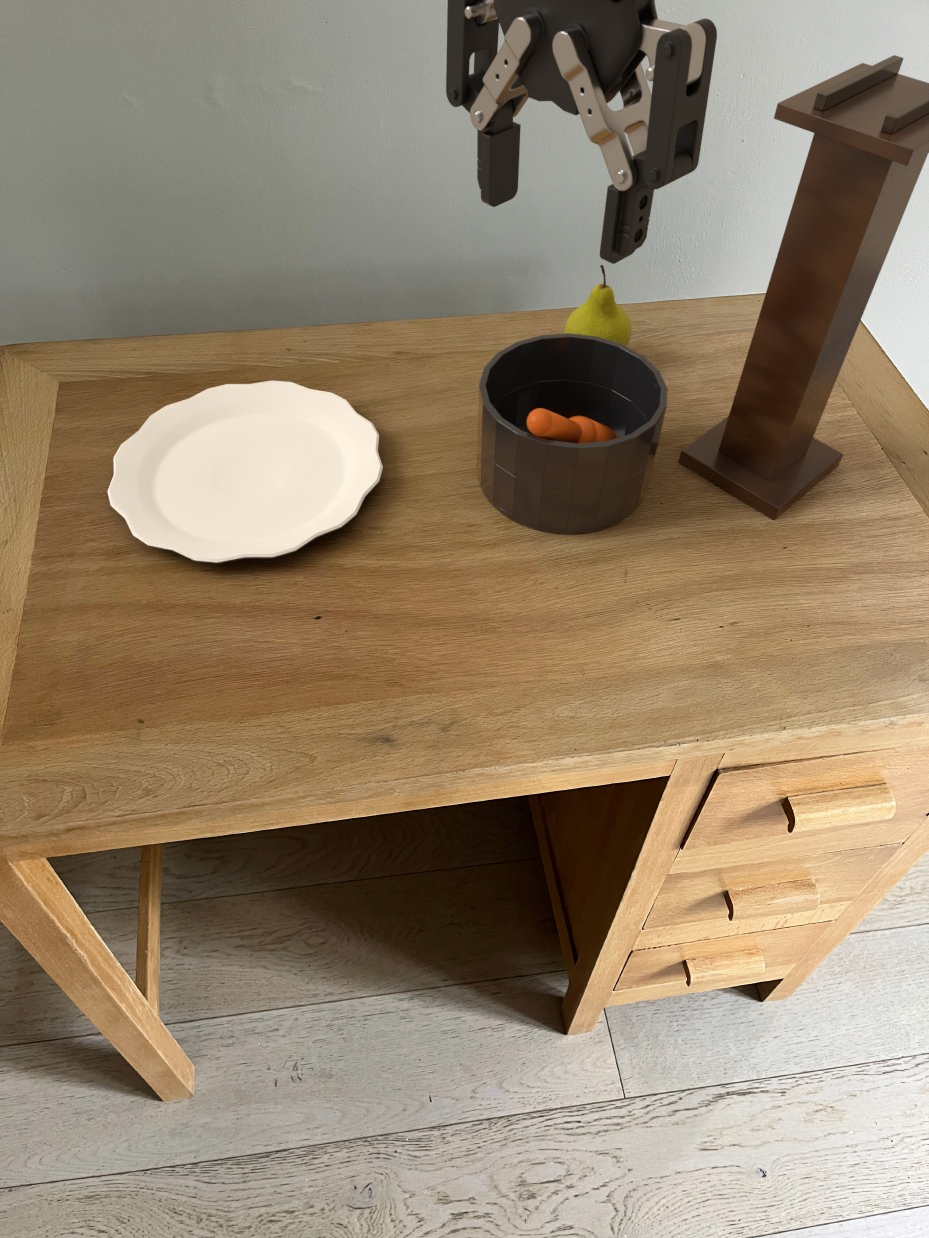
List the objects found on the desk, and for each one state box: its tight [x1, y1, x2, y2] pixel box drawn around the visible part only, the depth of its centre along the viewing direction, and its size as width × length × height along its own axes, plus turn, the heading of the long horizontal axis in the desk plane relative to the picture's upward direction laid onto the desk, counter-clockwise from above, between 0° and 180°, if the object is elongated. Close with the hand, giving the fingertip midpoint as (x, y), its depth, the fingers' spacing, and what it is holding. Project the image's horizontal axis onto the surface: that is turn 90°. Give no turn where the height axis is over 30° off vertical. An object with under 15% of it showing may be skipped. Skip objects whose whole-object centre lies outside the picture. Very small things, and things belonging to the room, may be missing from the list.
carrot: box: [527, 408, 619, 444], centre depth 76 cm, size 4×16×4 cm
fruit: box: [563, 264, 633, 347], centre depth 89 cm, size 7×7×12 cm
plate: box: [106, 380, 384, 565], centre depth 81 cm, size 25×25×2 cm
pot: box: [476, 333, 669, 535], centre depth 78 cm, size 16×16×10 cm
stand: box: [678, 54, 929, 521], centre depth 70 cm, size 11×11×33 cm
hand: (555, 227), depth 45 cm, fingers open, 8 cm apart
